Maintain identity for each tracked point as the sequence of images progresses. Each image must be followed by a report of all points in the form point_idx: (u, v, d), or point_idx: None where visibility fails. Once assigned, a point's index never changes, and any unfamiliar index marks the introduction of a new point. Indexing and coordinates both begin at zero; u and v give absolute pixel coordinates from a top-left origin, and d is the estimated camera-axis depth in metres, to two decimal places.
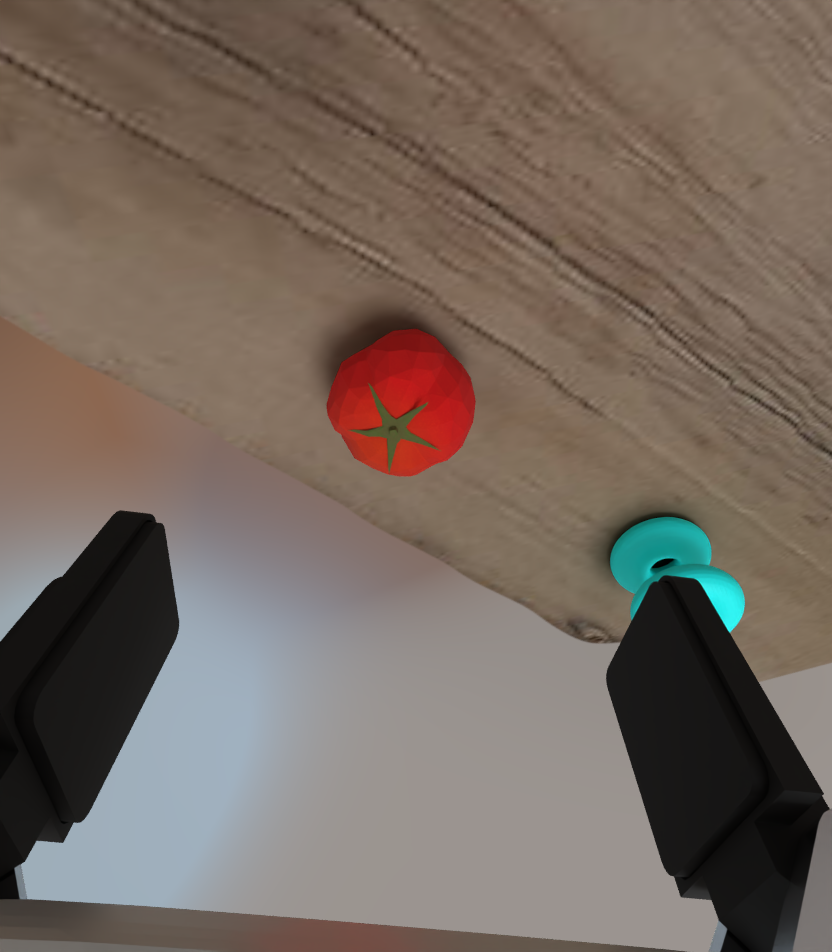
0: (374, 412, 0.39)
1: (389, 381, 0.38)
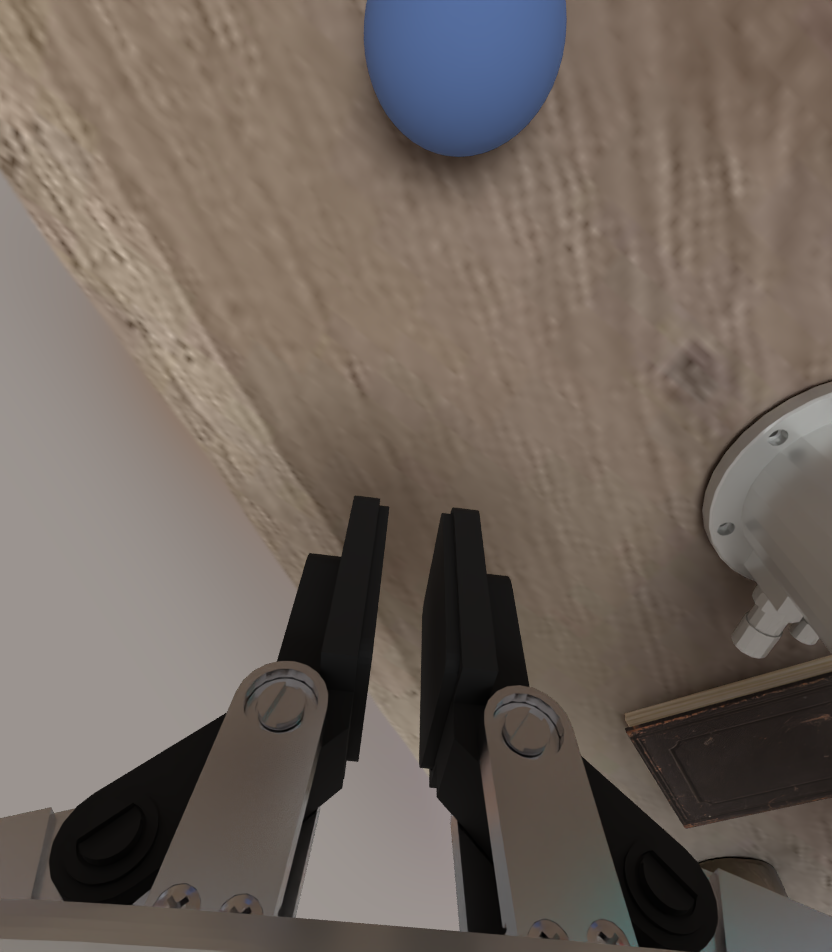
0: None
1: None
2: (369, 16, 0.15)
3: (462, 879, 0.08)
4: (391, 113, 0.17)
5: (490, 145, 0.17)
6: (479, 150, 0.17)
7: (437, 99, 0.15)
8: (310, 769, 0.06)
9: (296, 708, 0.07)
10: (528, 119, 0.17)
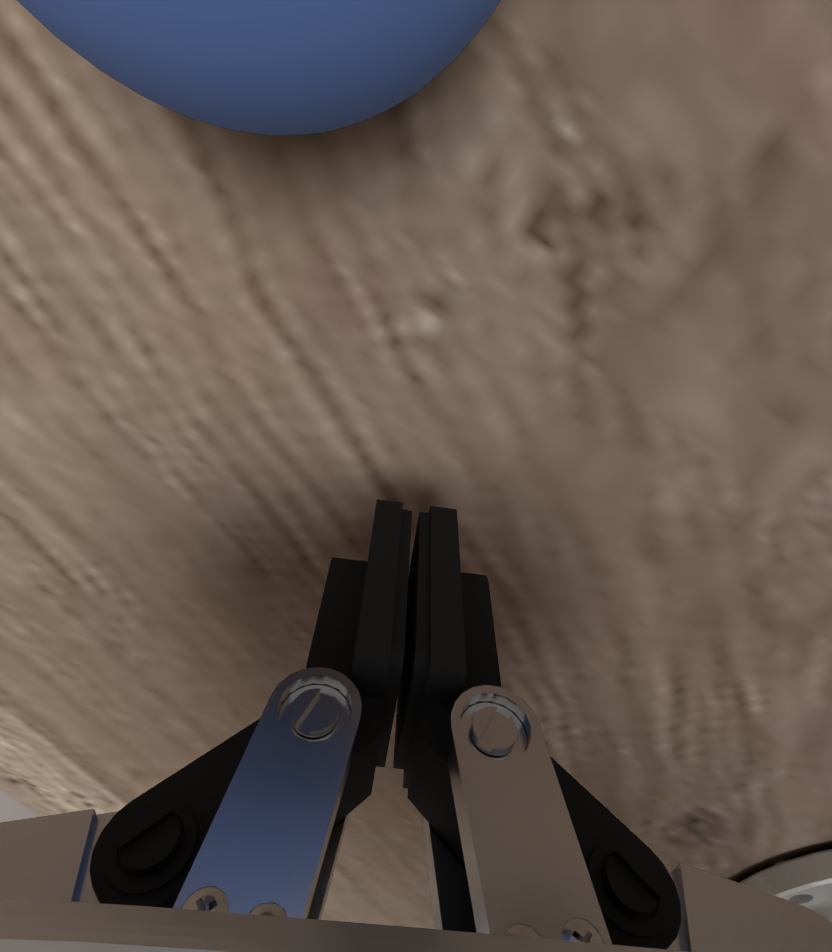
0: None
1: None
2: None
3: (436, 884, 0.07)
4: None
5: None
6: None
7: None
8: (341, 780, 0.06)
9: (330, 716, 0.07)
10: None
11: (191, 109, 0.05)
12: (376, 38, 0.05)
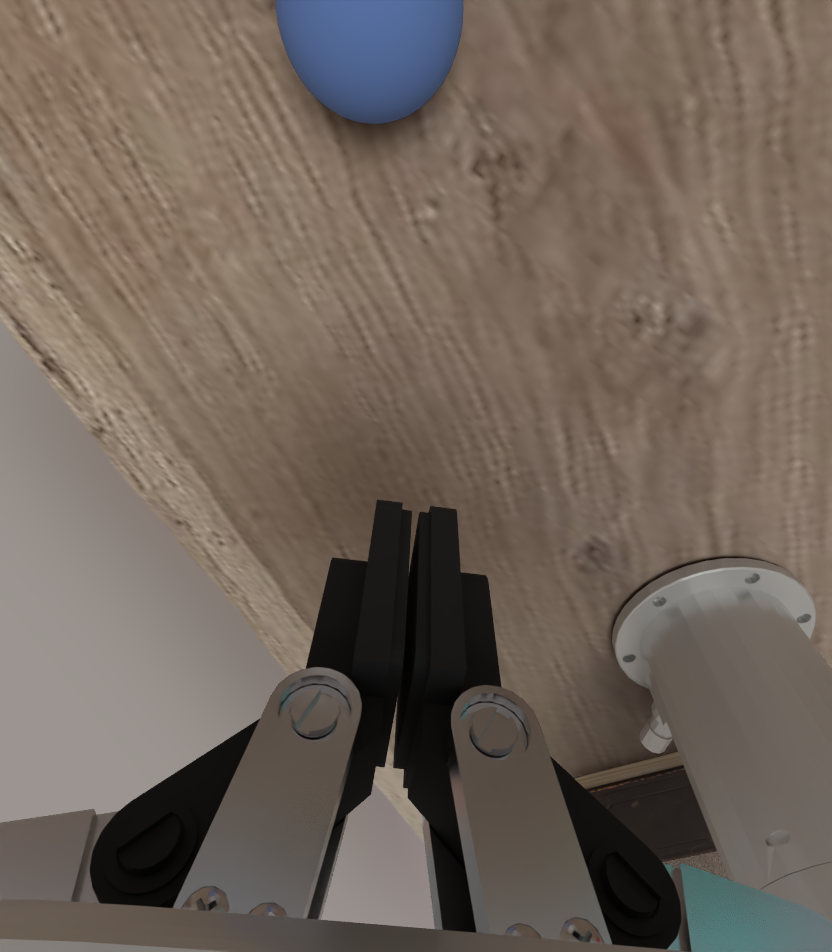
0: None
1: None
2: None
3: (436, 884, 0.07)
4: None
5: None
6: None
7: None
8: (341, 780, 0.06)
9: (330, 716, 0.07)
10: None
11: (348, 114, 0.18)
12: (400, 94, 0.17)
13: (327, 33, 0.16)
